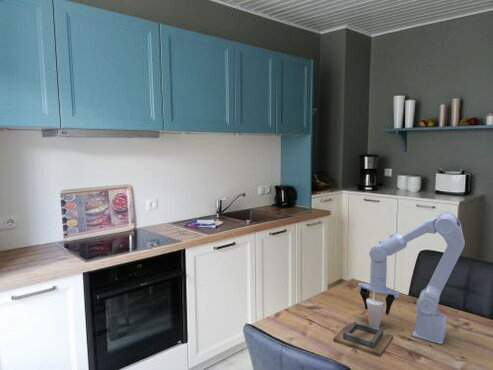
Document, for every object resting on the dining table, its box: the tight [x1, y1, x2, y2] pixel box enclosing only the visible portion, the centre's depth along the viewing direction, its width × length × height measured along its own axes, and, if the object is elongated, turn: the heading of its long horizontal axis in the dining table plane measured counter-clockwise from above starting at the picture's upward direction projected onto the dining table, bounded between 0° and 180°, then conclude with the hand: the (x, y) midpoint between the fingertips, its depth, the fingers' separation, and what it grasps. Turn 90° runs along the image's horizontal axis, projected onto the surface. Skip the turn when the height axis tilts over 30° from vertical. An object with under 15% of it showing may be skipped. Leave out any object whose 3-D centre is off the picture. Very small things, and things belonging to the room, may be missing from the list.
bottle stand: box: [332, 320, 394, 358], centre depth 128 cm, size 16×14×3 cm
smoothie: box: [366, 289, 385, 329], centre depth 137 cm, size 6×6×14 cm
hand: (377, 311), depth 140 cm, fingers open, 7 cm apart
